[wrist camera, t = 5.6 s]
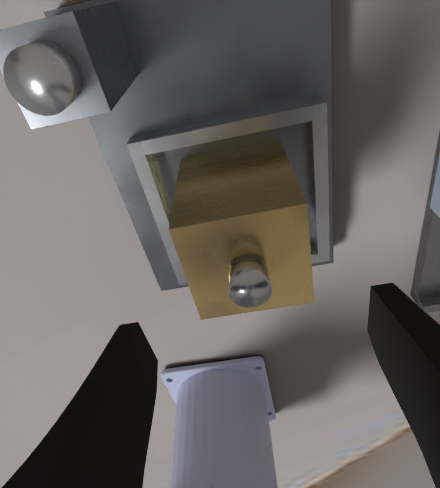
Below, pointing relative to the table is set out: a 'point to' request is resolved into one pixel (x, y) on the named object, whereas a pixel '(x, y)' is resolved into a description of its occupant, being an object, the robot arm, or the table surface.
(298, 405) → the table surface
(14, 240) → the table surface
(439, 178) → the lever
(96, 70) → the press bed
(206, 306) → the housing
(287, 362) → the table surface
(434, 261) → the rail
